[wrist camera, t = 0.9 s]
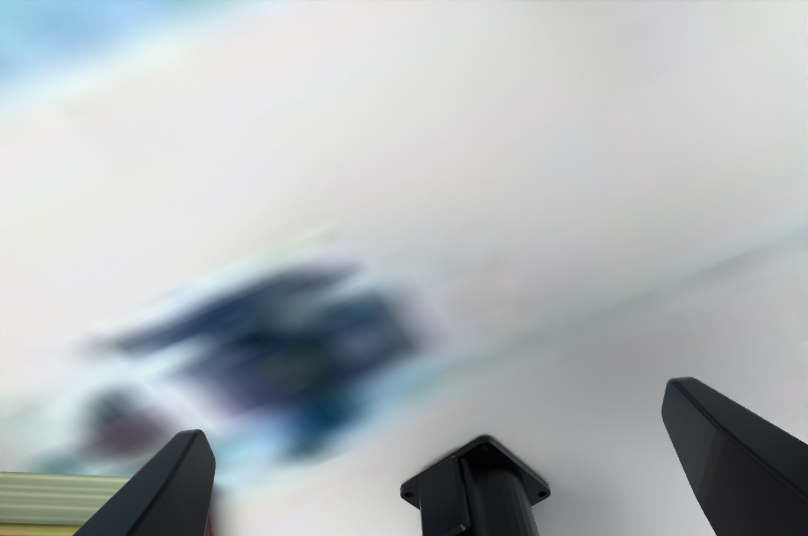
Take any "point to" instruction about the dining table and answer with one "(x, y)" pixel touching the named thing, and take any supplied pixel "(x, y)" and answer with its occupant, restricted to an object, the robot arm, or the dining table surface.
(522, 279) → the dining table surface
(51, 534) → the hardcover book
